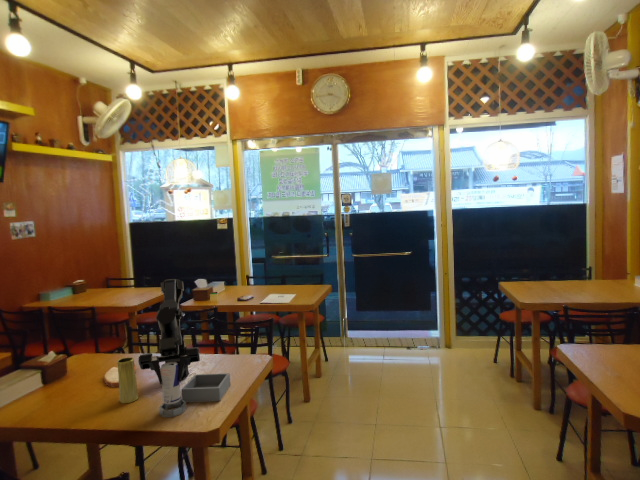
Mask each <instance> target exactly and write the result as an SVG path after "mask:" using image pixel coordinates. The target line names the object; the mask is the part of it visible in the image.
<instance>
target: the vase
mask: <svg viewBox="0 0 640 480" xmlns="http://www.w3.org/2000/svg"><path fill="white" fill-rule="evenodd" d="M116 363H117V367H118V375H119V387H118V390H119V402H120V403H121V404H128V403H129V404H130V403H133V402H135V401H137V400H138V399H139V398H140V397H139V393H138V385H137V384H138V383H137V377H136V376H137V375H136V374H135V366H136V365H135V366H134V364H135V359H134V357H130V356H128V357H121V358H119V359H118V360H117V361H116Z"/></svg>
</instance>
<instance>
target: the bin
mask: <svg viewBox="0 0 640 480" xmlns="http://www.w3.org/2000/svg"><path fill="white" fill-rule="evenodd" d="M231 385H232V384H231V373H230V372H228V373H226V372H225V373H202V374H201V373H200V374H199V373H198V374H194V375H193V376H192V377H191V378H190V379H189V381H187V383H186V384H185V385H184V386H183V387H182V388H180V391H181V399H182V400H184V401H185V402H186V403H198V402H199V403H200V402H201V403H202V402H204V403H206V402H221V401H222V399H223V397H224V396H225V394H226V393H227V391H228V390H229V388H230V387H231Z"/></svg>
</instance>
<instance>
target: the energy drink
mask: <svg viewBox="0 0 640 480" xmlns="http://www.w3.org/2000/svg"><path fill="white" fill-rule="evenodd" d="M160 369H161V379H162V385H161V386H162V387H161V388H162V397H163V398H162V399H163V403H165V404H175V403H177V402H179V401H180V400H181V399H182V391H181V381H180V382H179V369H178V364H177V363H176V362H168V363H165V362H164V363H163V364H161V365H160Z"/></svg>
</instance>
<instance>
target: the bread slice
mask: <svg viewBox="0 0 640 480" xmlns="http://www.w3.org/2000/svg"><path fill="white" fill-rule="evenodd" d="M134 366H135V374H136V373H137V370H138V369H137V366H136V364H135V363H134ZM103 381H104V384H105V383H106V384H107V385H108V386H107V385H106V384H105V385H106V386H107V387H110V386H111V387H110V388H119V375H118V366H111V367H110V368H109V369H108V370H107V371H106V372H105V373H104V376H103Z"/></svg>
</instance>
